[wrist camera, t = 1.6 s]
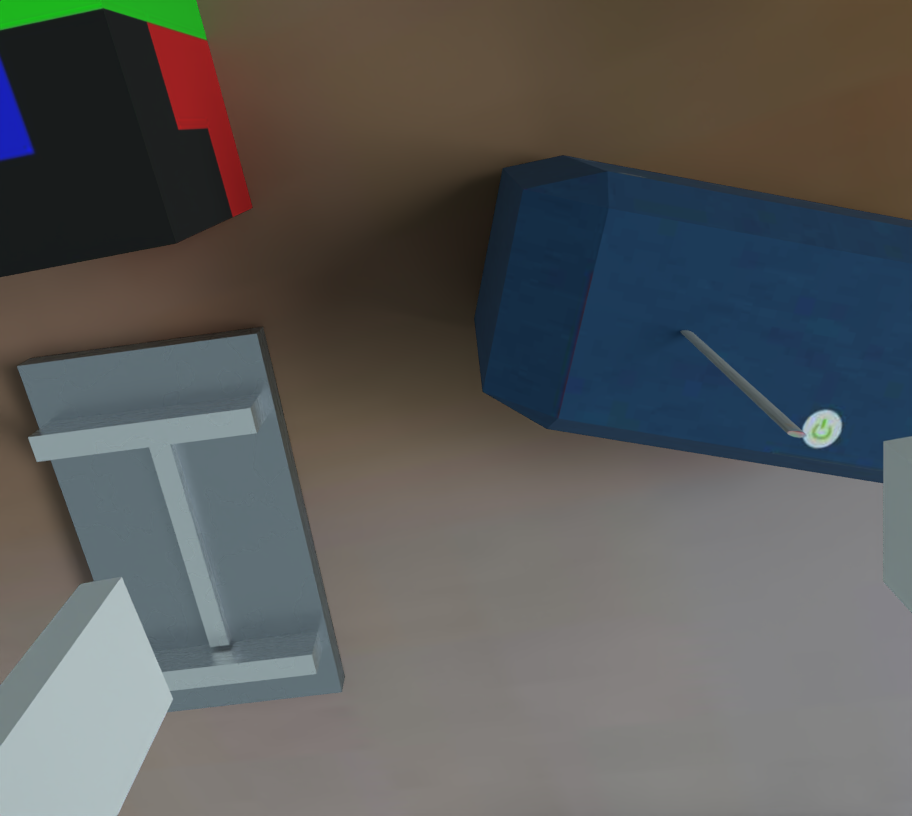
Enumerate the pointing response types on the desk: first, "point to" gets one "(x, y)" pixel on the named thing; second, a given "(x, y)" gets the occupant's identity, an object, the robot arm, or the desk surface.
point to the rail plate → (192, 510)
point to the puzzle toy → (109, 131)
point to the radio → (698, 316)
